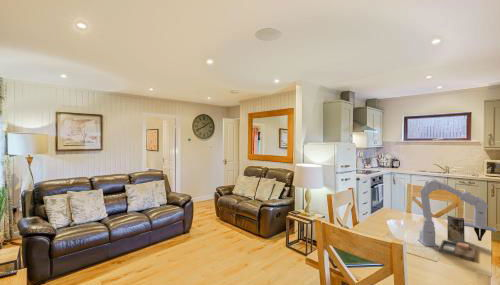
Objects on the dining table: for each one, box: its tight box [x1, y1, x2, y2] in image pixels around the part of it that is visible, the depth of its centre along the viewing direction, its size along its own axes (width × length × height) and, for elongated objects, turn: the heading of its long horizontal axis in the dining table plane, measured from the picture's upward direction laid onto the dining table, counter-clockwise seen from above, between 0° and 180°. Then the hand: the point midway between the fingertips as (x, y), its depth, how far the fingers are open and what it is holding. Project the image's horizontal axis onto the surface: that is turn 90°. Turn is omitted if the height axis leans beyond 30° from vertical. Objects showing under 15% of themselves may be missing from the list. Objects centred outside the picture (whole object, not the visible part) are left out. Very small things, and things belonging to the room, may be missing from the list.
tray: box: [438, 239, 458, 256], centre depth 156 cm, size 7×18×2 cm, turn 136°
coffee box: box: [447, 215, 465, 243], centre depth 168 cm, size 9×6×16 cm
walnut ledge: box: [453, 242, 476, 262], centre depth 150 cm, size 9×20×2 cm, turn 135°
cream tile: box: [443, 245, 454, 252], centre depth 153 cm, size 5×5×2 cm
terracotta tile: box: [457, 242, 470, 250], centre depth 154 cm, size 5×5×2 cm
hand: (479, 240), depth 148 cm, fingers closed
